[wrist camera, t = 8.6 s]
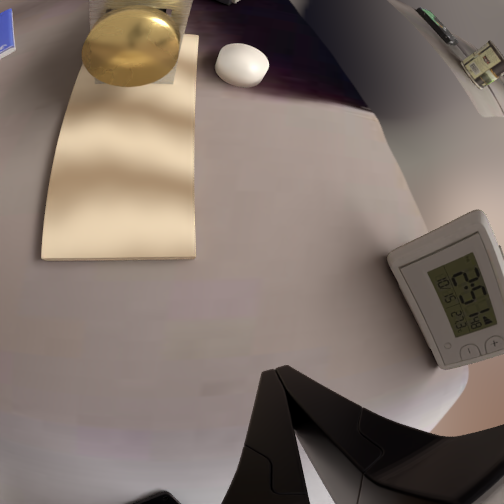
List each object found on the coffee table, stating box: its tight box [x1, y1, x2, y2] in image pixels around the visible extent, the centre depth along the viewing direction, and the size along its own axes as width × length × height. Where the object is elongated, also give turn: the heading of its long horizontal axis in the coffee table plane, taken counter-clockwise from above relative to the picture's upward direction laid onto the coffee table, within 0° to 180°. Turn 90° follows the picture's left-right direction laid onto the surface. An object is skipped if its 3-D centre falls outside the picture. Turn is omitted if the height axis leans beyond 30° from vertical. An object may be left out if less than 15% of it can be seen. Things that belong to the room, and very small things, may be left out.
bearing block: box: [89, 0, 193, 84], centre depth 17 cm, size 6×7×9 cm
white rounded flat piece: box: [215, 43, 269, 88], centre depth 25 cm, size 5×5×2 cm
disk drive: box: [416, 7, 458, 45], centre depth 57 cm, size 10×3×15 cm
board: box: [41, 34, 199, 261], centre depth 21 cm, size 23×11×1 cm, turn 5°
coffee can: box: [461, 41, 504, 89], centre depth 50 cm, size 10×10×14 cm
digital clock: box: [387, 210, 504, 370], centre depth 23 cm, size 16×9×11 cm, turn 26°
